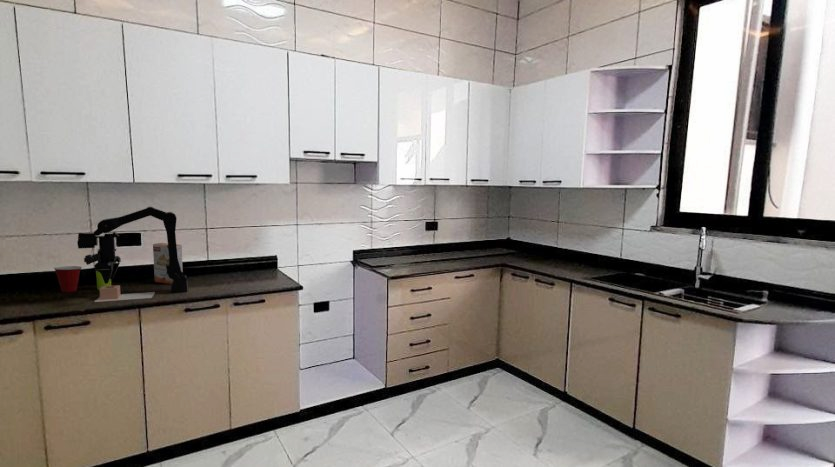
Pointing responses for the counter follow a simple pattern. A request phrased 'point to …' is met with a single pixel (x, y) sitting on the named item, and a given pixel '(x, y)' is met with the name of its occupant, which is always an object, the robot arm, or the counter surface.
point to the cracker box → (164, 261)
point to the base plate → (130, 296)
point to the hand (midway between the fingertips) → (109, 281)
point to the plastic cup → (68, 277)
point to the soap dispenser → (101, 280)
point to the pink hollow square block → (110, 292)
